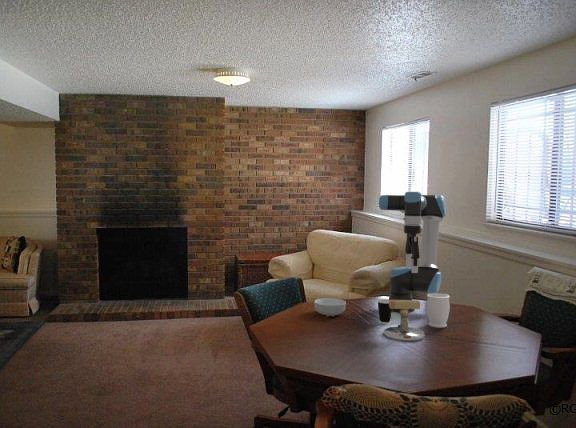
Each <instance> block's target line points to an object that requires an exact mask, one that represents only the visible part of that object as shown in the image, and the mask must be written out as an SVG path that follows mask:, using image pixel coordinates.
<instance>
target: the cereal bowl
mask: <svg viewBox="0 0 576 428" xmlns="http://www.w3.org/2000/svg"><path fill="white" fill-rule="evenodd" d="M313 305H314V309H315V311H316V312H317V313H318V314H321V315H322V314H323V315H326V316H325V317H329V316H332V317H336V316H335V315H337V316H338V315H340V314H342V313H343V312H344V311H345V310H346V305H347V302H346V301H345V300H343V299H340V298H330V297H329V298H327V297H325V298H324V297H323V298H317V299H315V300H314V302H313ZM323 315H322V316H323Z"/></svg>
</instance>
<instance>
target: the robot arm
mask: <svg viewBox="0 0 576 428" xmlns="http://www.w3.org/2000/svg"><path fill="white" fill-rule="evenodd" d="M378 207H379V210H381V211H395V212H396V211H399V212H401V213H403V214H404V217H402V220H403V221H404V226H403V233H404V234H406V240H405V250H404V251H405V266H399V267H398V266H397V267H394V268H392V269H390V275H389V297H388V299H389V300H414V299H413V295H412V292H414V293H423V294H430V293H439V290H440V287H441V284H442V278H443V277H442V275H443V274H442V272H441V271H440V268H439V267H438V265H437V258H438V248H439V247H438V245H439V237H440V236H439V233H440V224H441V222H442V221H443V219H444V217H446V216H447V205H446V199H445V197H444V196H443V195H441V194H440V195H439V194H422V192H421V191H406V192H405V193H404V194H403V195H401V194H399V195H398V194H381V195H380V196H379V198H378ZM421 225H422V226H421ZM421 230H422V231H421ZM421 232H422V235H421V246H420V247H421V248H419V236H417V235H420V234H421ZM419 249H420V250H419ZM415 310H416V309H408V313H411V312H415ZM392 312H394V313H401V309H392Z"/></svg>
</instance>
